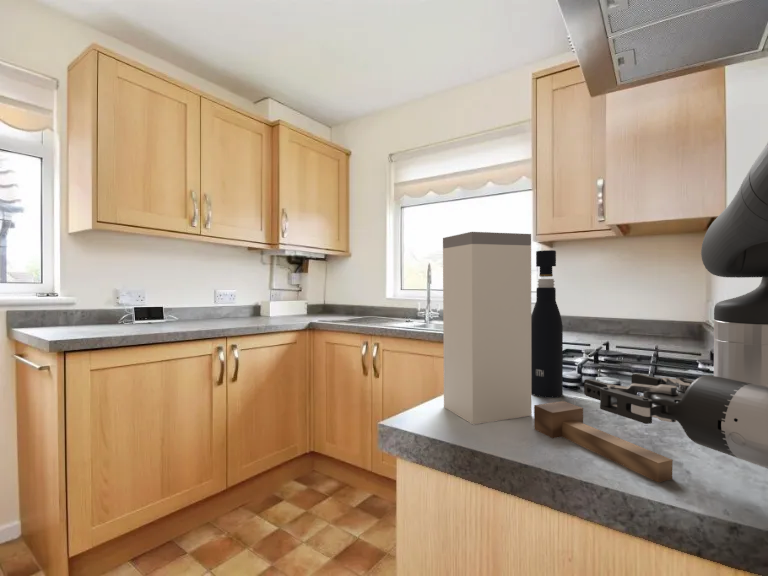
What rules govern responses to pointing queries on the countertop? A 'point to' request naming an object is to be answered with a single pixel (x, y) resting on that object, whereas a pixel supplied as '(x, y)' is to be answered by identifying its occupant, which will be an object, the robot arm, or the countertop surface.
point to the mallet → (599, 440)
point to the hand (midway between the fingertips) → (610, 383)
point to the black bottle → (546, 333)
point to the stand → (487, 325)
